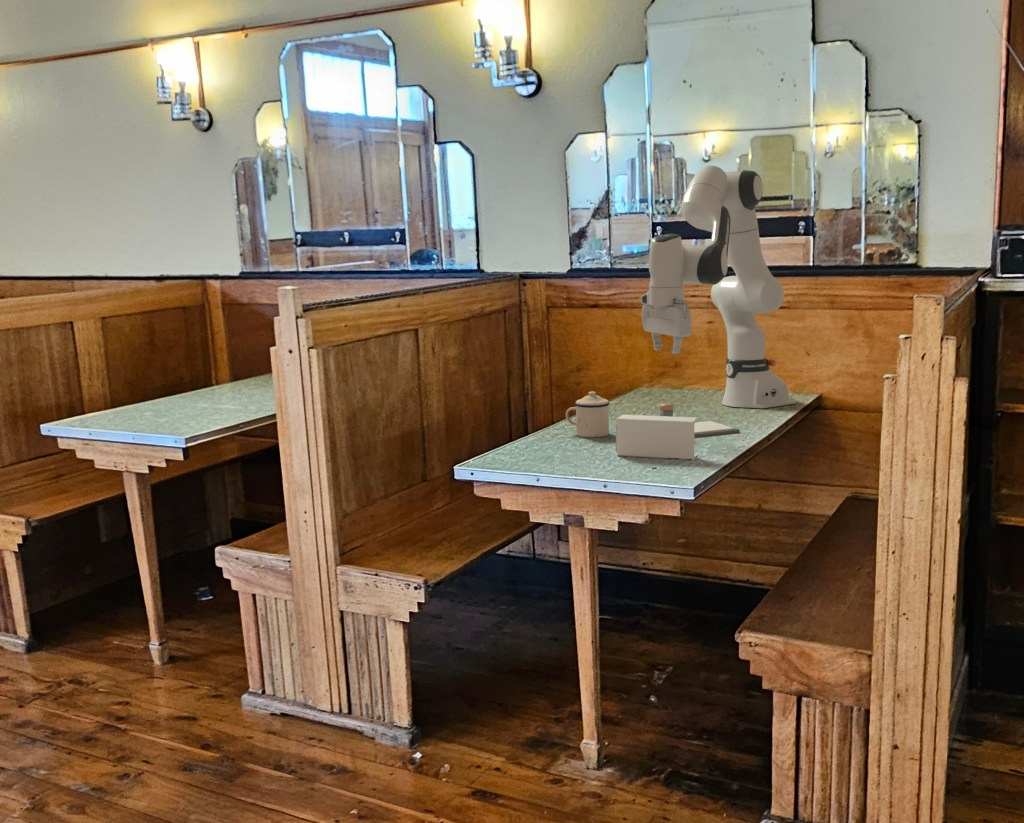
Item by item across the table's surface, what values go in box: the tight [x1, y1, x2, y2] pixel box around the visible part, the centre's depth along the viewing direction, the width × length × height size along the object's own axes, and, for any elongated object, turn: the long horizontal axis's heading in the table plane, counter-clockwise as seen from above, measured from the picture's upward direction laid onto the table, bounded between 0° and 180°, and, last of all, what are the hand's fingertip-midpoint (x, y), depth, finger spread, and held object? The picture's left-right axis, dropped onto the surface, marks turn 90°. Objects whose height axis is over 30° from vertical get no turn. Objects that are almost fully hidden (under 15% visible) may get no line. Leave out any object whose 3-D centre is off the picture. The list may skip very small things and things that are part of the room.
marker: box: [659, 402, 674, 417], centre depth 275 cm, size 4×4×8 cm
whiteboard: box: [694, 420, 741, 438], centre depth 281 cm, size 25×14×1 cm, turn 110°
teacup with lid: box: [565, 391, 610, 439], centre depth 281 cm, size 12×9×12 cm
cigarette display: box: [615, 414, 699, 461], centre depth 253 cm, size 20×6×9 cm, turn 68°
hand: (666, 351), depth 272 cm, fingers open, 8 cm apart
